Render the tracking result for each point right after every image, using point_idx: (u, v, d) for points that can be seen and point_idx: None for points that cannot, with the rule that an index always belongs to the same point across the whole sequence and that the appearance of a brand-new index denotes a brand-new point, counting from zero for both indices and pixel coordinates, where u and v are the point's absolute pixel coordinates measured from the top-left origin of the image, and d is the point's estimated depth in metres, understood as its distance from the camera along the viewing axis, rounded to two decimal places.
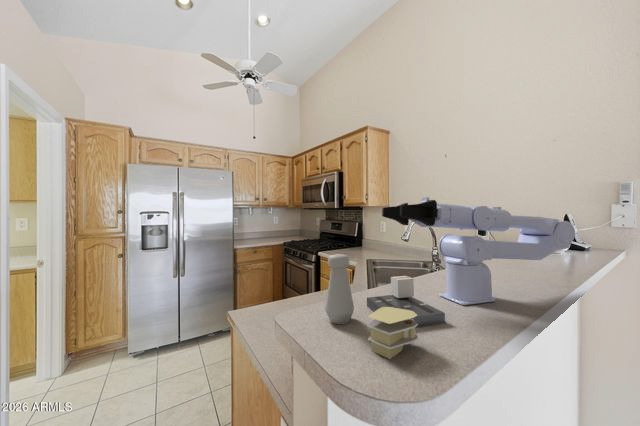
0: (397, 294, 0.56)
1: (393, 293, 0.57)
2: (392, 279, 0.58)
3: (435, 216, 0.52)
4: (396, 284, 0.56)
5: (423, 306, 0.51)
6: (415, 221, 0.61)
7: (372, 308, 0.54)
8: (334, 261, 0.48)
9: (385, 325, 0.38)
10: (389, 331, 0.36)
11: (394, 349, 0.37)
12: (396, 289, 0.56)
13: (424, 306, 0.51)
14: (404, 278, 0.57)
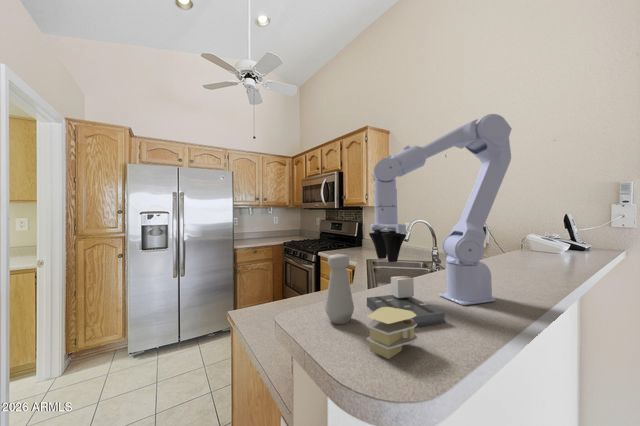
0: (397, 294, 0.56)
1: (393, 293, 0.57)
2: (392, 279, 0.58)
3: (400, 234, 0.59)
4: (396, 284, 0.56)
5: (423, 306, 0.51)
6: None
7: (372, 308, 0.54)
8: (334, 262, 0.48)
9: (384, 325, 0.38)
10: (388, 331, 0.36)
11: (393, 349, 0.37)
12: (396, 289, 0.56)
13: (424, 306, 0.51)
14: (404, 278, 0.57)
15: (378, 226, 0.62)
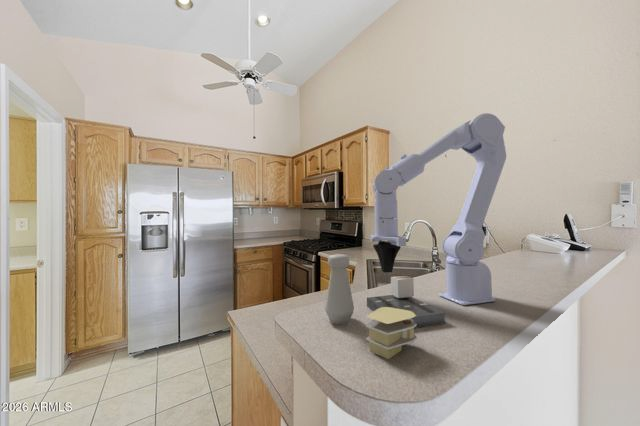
0: (397, 294, 0.56)
1: (393, 293, 0.57)
2: (392, 279, 0.58)
3: (394, 245, 0.62)
4: (396, 284, 0.56)
5: (423, 306, 0.51)
6: None
7: (372, 308, 0.54)
8: (334, 261, 0.48)
9: (384, 325, 0.38)
10: (387, 331, 0.36)
11: (392, 349, 0.37)
12: (396, 289, 0.56)
13: (424, 306, 0.51)
14: (404, 278, 0.57)
15: (378, 238, 0.62)
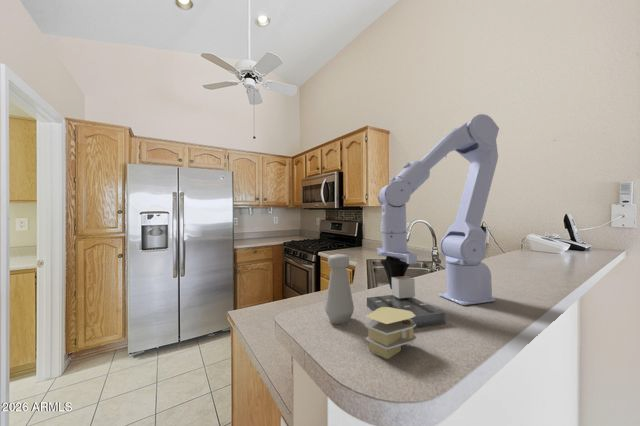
0: (398, 294, 0.55)
1: (394, 293, 0.57)
2: (393, 279, 0.57)
3: (404, 262, 0.58)
4: (397, 285, 0.55)
5: (423, 306, 0.51)
6: None
7: (372, 308, 0.54)
8: (334, 261, 0.48)
9: (383, 325, 0.38)
10: (386, 331, 0.36)
11: (391, 349, 0.37)
12: (397, 289, 0.56)
13: (424, 306, 0.51)
14: (405, 278, 0.56)
15: (386, 254, 0.58)
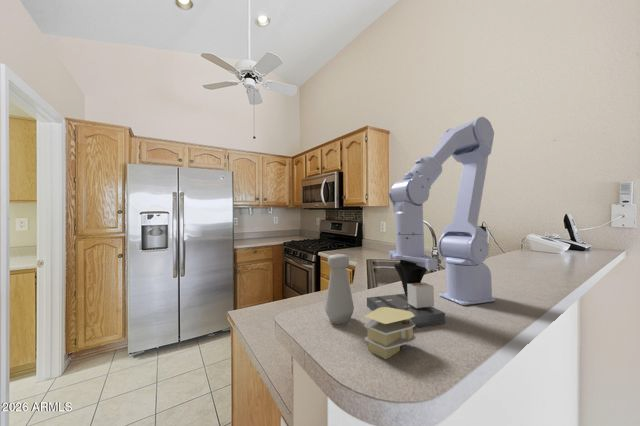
0: (415, 304, 0.49)
1: (410, 302, 0.51)
2: (409, 286, 0.51)
3: (421, 266, 0.52)
4: (415, 292, 0.49)
5: None
6: None
7: (372, 308, 0.54)
8: (334, 261, 0.48)
9: (382, 325, 0.38)
10: (385, 331, 0.36)
11: (390, 349, 0.37)
12: (414, 298, 0.50)
13: None
14: (423, 285, 0.50)
15: (401, 257, 0.52)
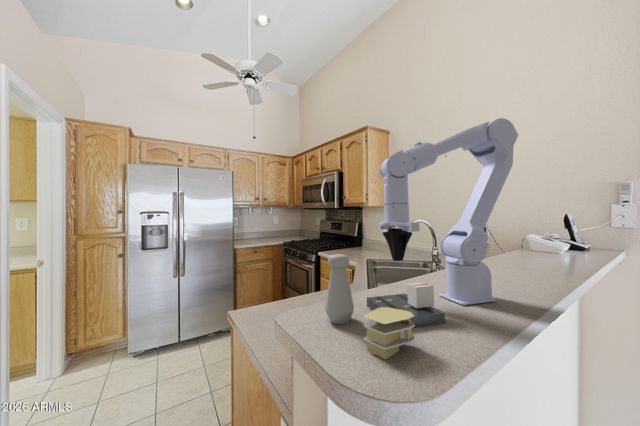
0: (415, 304, 0.49)
1: (410, 302, 0.51)
2: (409, 286, 0.51)
3: (406, 232, 0.58)
4: (415, 292, 0.49)
5: None
6: None
7: (372, 308, 0.54)
8: (334, 261, 0.48)
9: (381, 325, 0.38)
10: (384, 331, 0.36)
11: (389, 349, 0.37)
12: (414, 298, 0.50)
13: None
14: (423, 285, 0.50)
15: (389, 224, 0.59)
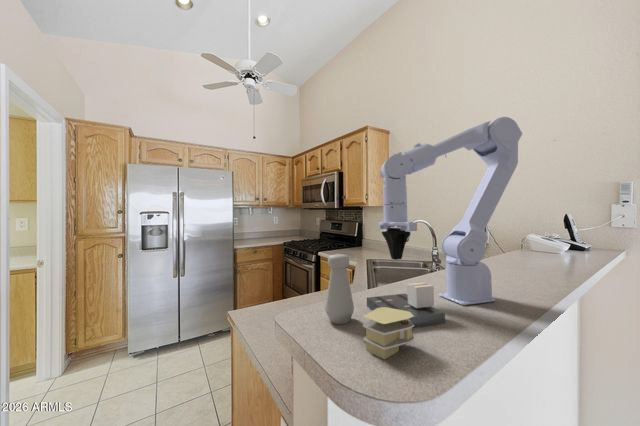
0: (415, 304, 0.49)
1: (410, 302, 0.51)
2: (409, 286, 0.51)
3: (404, 231, 0.60)
4: (415, 292, 0.49)
5: None
6: None
7: (372, 308, 0.54)
8: (334, 261, 0.48)
9: (381, 325, 0.38)
10: (384, 331, 0.36)
11: (389, 349, 0.36)
12: (414, 298, 0.50)
13: None
14: (423, 285, 0.50)
15: (387, 224, 0.61)
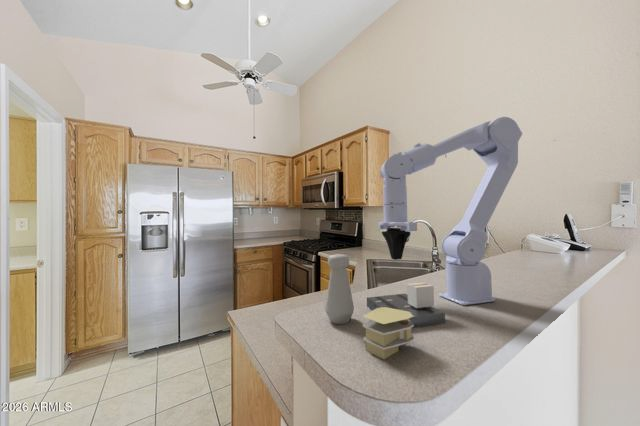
0: (415, 304, 0.49)
1: (410, 302, 0.51)
2: (409, 286, 0.51)
3: (404, 231, 0.60)
4: (415, 292, 0.49)
5: None
6: None
7: (372, 308, 0.54)
8: (334, 261, 0.48)
9: (380, 325, 0.38)
10: (383, 331, 0.36)
11: (388, 349, 0.36)
12: (414, 298, 0.50)
13: None
14: (423, 285, 0.50)
15: (387, 224, 0.61)
